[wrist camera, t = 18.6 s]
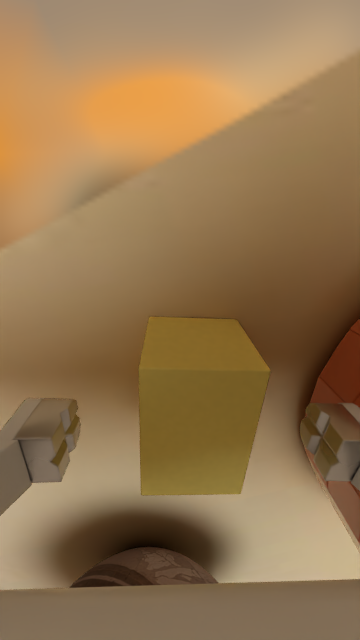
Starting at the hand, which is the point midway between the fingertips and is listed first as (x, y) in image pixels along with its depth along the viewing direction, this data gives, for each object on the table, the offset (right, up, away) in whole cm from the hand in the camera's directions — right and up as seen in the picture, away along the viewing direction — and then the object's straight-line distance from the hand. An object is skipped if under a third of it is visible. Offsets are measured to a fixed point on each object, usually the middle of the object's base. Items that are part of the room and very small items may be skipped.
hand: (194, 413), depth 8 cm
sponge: (0, +1, +3) cm, 4 cm away
